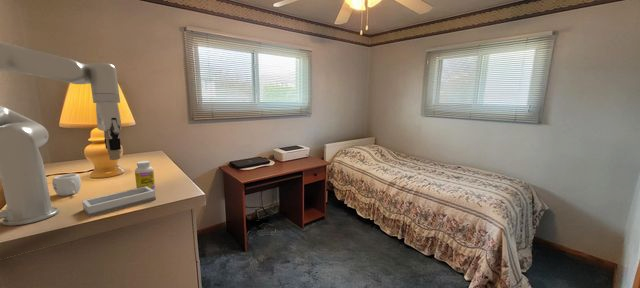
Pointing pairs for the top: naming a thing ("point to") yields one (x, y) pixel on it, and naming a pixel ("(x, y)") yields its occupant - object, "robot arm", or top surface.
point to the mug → (66, 184)
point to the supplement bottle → (144, 175)
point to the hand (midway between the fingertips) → (113, 148)
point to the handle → (113, 153)
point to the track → (118, 200)
